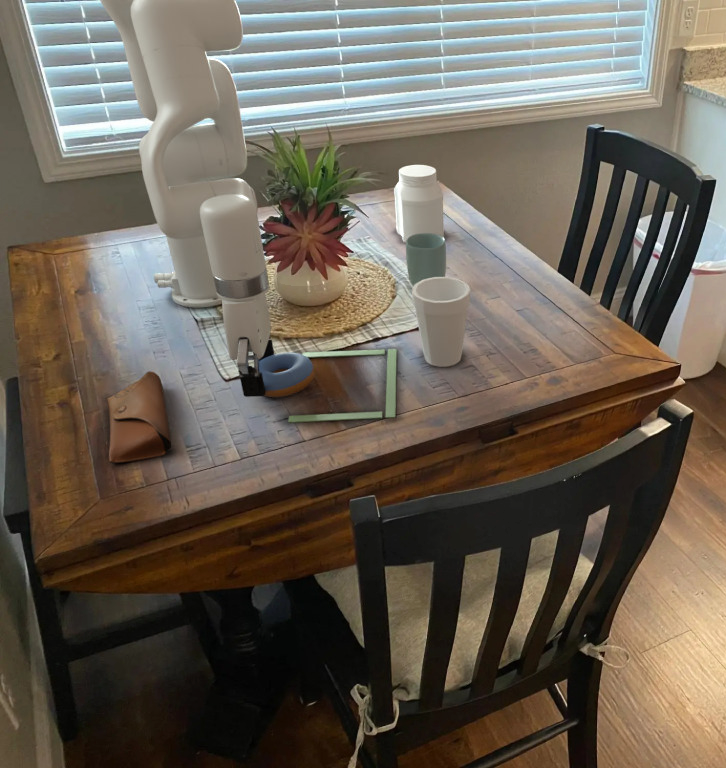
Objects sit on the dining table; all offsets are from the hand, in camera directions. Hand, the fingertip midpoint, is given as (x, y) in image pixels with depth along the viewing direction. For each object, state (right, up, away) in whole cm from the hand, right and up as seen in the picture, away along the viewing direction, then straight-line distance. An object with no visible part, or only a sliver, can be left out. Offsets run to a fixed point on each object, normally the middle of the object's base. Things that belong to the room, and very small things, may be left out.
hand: (260, 377), depth 120 cm
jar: (+19, +34, +54) cm, 66 cm away
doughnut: (+3, -1, +1) cm, 4 cm away
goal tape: (+12, -1, +2) cm, 13 cm away
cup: (+23, +19, +32) cm, 44 cm away
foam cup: (+28, +4, +10) cm, 30 cm away
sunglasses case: (-15, -7, -8) cm, 19 cm away
